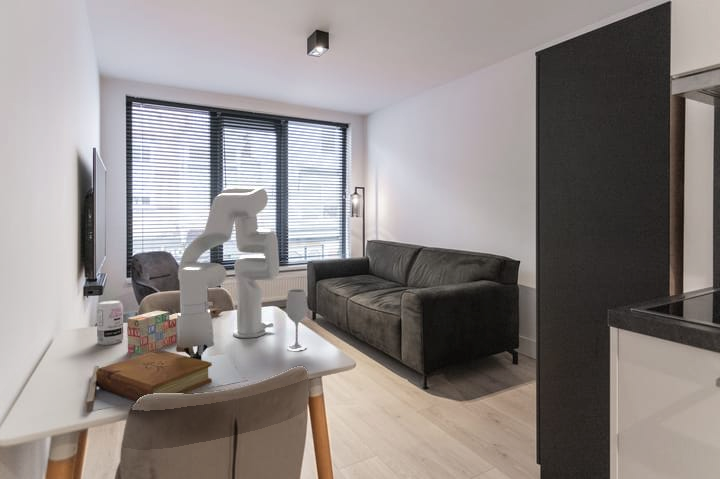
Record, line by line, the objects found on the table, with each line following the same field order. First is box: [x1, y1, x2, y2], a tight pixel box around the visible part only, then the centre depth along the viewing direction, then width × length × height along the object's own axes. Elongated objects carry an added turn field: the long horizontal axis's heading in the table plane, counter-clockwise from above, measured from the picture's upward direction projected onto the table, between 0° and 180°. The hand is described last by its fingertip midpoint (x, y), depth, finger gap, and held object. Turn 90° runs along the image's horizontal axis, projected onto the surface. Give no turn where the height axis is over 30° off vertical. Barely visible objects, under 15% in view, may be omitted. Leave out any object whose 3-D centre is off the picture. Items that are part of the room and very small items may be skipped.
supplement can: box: [96, 299, 124, 346], centre depth 148 cm, size 8×8×15 cm
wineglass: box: [285, 288, 308, 349], centre depth 143 cm, size 8×8×21 cm
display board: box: [86, 353, 248, 413], centre depth 116 cm, size 38×26×3 cm
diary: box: [96, 349, 212, 401], centre depth 110 cm, size 23×19×6 cm
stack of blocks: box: [126, 310, 179, 356], centre depth 145 cm, size 21×6×12 cm, turn 158°
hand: (196, 367), depth 120 cm, fingers closed
